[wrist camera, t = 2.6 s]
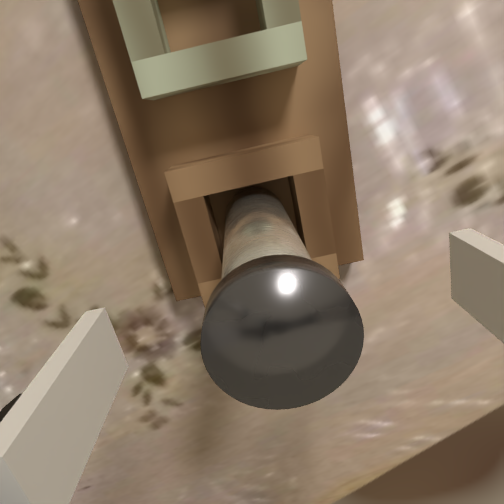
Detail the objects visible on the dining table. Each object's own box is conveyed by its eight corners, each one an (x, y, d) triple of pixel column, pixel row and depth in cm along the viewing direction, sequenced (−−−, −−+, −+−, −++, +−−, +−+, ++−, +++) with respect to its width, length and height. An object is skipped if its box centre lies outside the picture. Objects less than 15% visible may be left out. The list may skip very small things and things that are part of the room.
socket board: (180, 289, 30) (170, 322, 25) (60, -85, 21) (11, -141, 16) (355, 250, 29) (378, 276, 24) (303, -148, 21) (324, -223, 16)
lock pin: (227, 257, 27) (222, 423, 12) (210, 188, 25) (180, 290, 11) (297, 241, 27) (371, 391, 12) (283, 172, 25) (353, 252, 11)
